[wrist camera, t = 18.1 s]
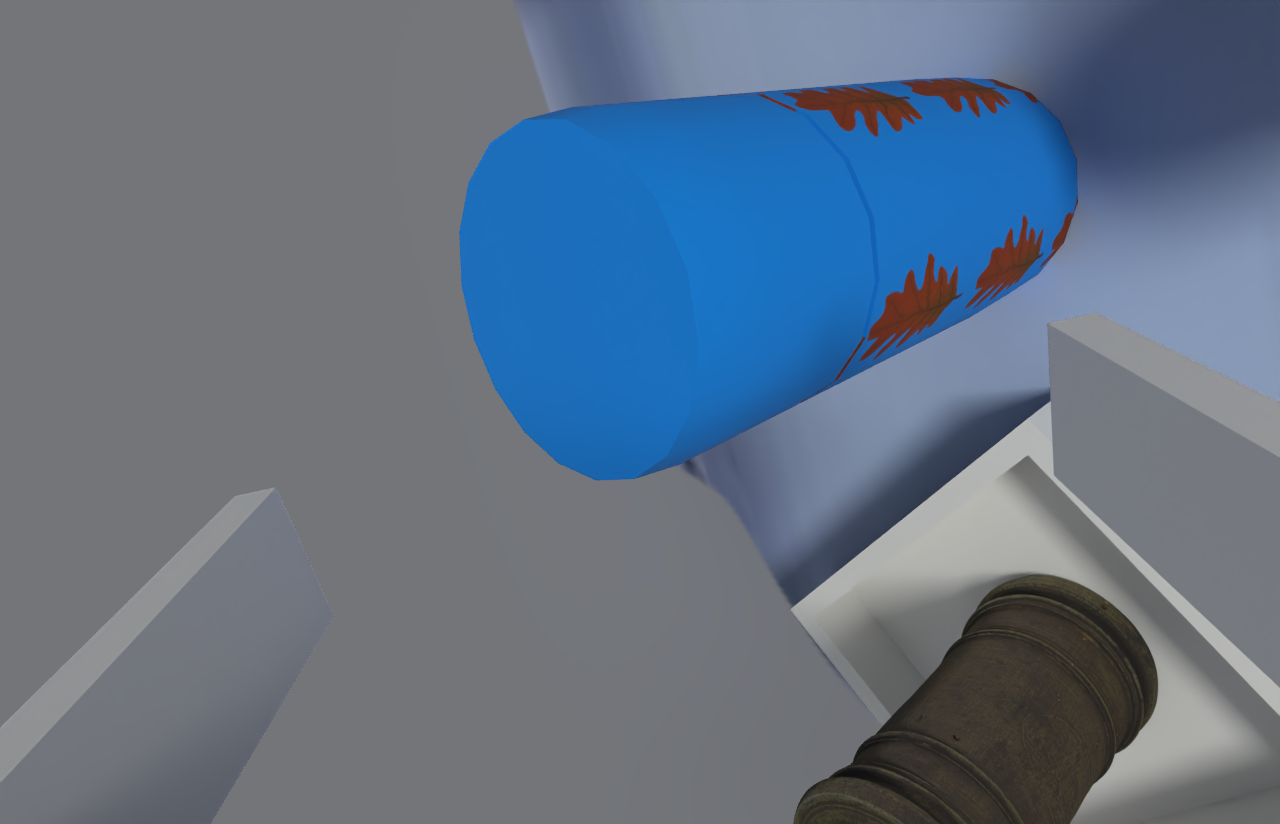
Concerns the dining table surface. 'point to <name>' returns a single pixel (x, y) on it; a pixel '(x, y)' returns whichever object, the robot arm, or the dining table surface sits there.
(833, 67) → the dining table surface
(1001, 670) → the container
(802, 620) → the white bin
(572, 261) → the thermos
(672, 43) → the dining table surface
